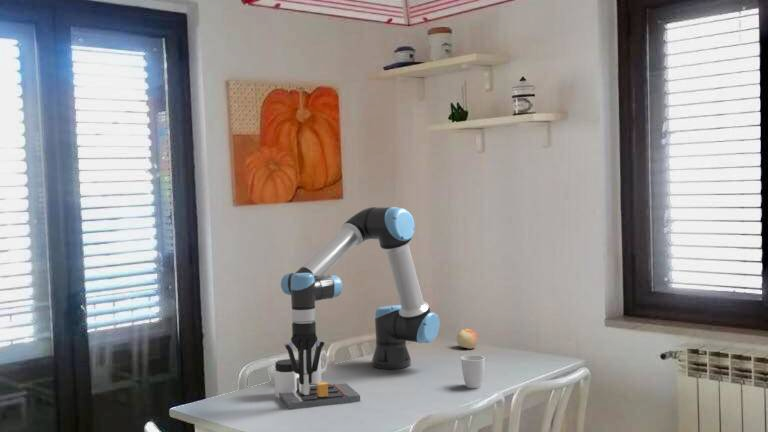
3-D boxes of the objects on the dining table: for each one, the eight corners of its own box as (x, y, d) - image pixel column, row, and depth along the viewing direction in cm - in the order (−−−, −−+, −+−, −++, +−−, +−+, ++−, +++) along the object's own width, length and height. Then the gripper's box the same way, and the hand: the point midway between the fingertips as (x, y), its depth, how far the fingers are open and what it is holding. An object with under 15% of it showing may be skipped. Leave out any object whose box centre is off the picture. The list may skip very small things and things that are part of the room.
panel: (346, 388, 283) (345, 370, 282) (360, 401, 266) (359, 381, 266) (277, 396, 275) (277, 376, 275) (287, 409, 259) (287, 389, 259)
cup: (486, 384, 285) (486, 355, 284) (483, 390, 277) (482, 360, 277) (463, 382, 287) (463, 354, 287) (459, 388, 279) (459, 360, 279)
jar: (285, 392, 281) (284, 358, 281) (305, 394, 278) (304, 359, 277) (271, 399, 273) (269, 363, 273) (291, 401, 270) (290, 365, 269)
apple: (467, 345, 350) (466, 326, 350) (482, 348, 343) (481, 329, 343) (452, 348, 344) (452, 329, 344) (467, 351, 338) (467, 332, 337)
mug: (309, 385, 288) (308, 352, 287) (299, 382, 293) (298, 349, 293) (333, 380, 294) (332, 348, 293) (323, 377, 299) (322, 345, 299)
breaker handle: (325, 393, 267) (325, 381, 267) (328, 396, 264) (327, 383, 264) (316, 394, 266) (316, 382, 266) (319, 397, 263) (318, 384, 263)
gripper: (320, 317, 268) (322, 388, 269) (281, 321, 264) (283, 393, 265) (326, 321, 260) (328, 394, 262) (286, 324, 256) (288, 398, 258)
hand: (305, 393), depth 263 cm, fingers closed
